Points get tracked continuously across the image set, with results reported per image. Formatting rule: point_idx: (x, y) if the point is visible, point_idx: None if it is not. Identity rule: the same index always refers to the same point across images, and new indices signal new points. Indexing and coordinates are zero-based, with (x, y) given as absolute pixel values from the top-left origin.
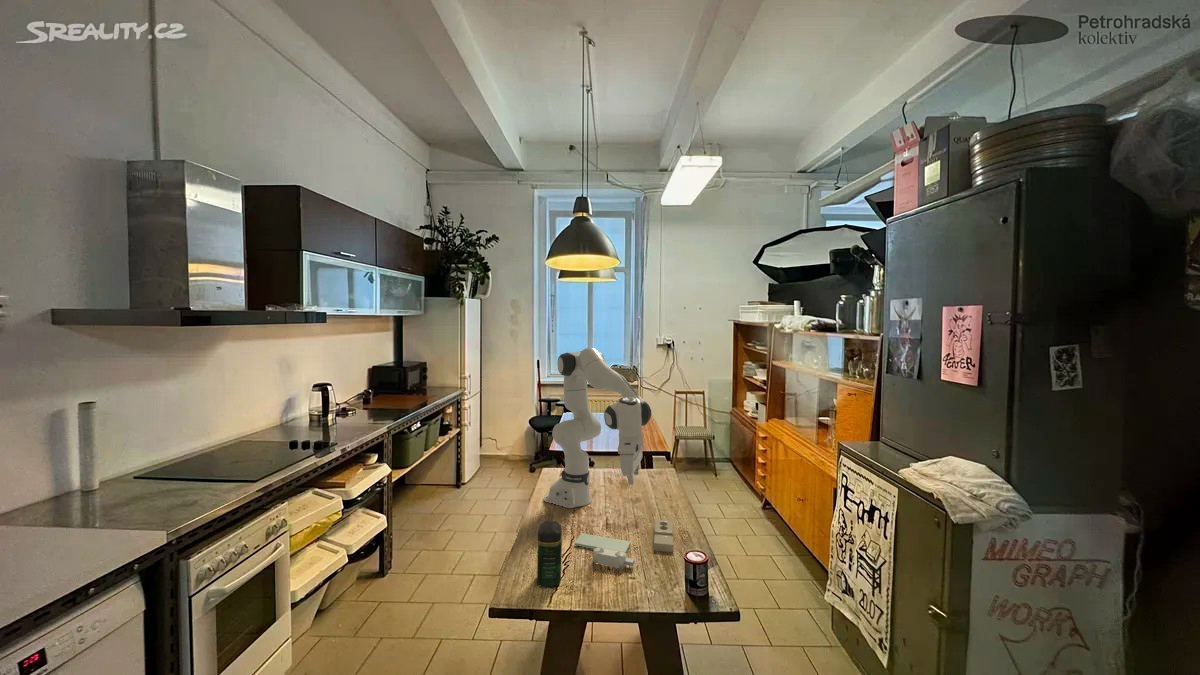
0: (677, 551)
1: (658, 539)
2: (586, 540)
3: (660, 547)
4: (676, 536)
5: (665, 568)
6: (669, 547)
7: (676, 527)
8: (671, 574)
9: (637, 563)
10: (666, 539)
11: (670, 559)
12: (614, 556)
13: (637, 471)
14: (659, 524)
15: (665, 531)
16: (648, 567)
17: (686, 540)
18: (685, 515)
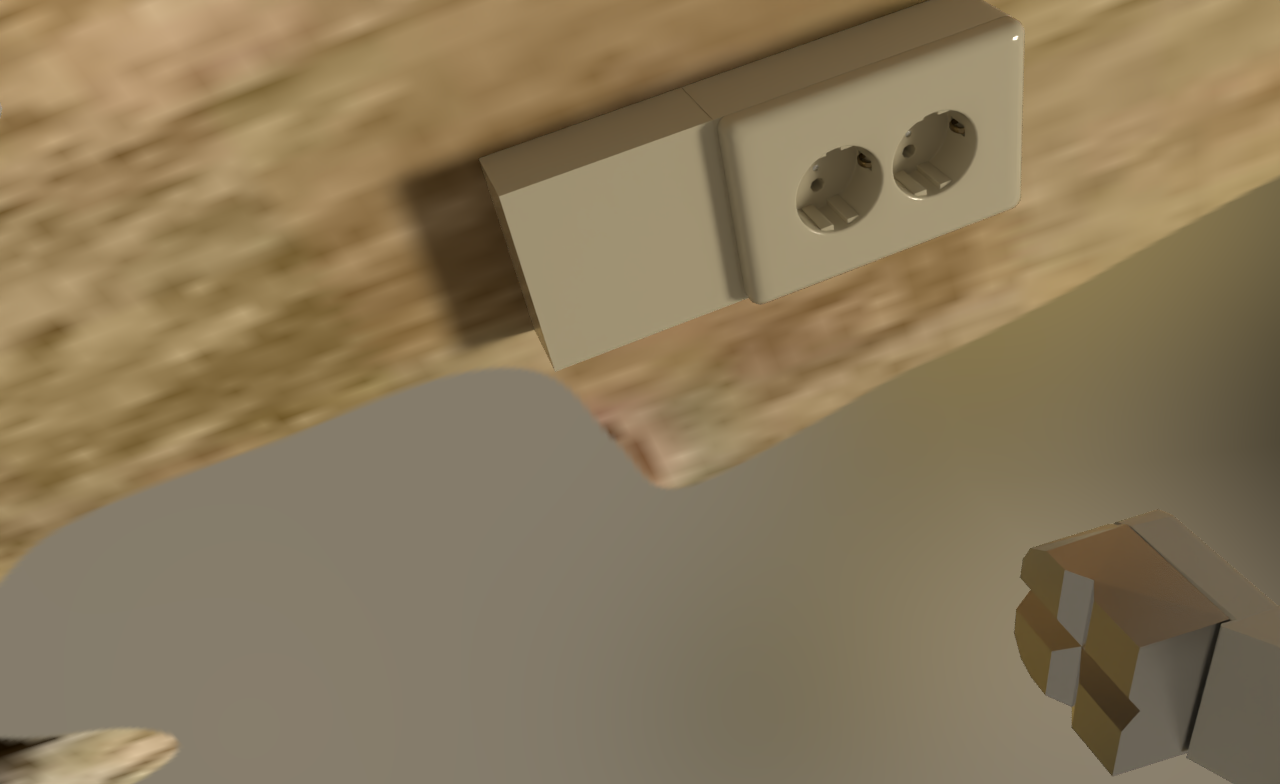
0: None
1: (601, 207)
2: None
3: (508, 238)
4: None
5: (193, 379)
6: (535, 321)
7: None
8: (125, 457)
9: (93, 99)
10: (634, 277)
11: (385, 357)
12: None
13: (1094, 725)
14: (906, 121)
15: (764, 236)
16: (96, 237)
17: (786, 349)
18: (1249, 183)
